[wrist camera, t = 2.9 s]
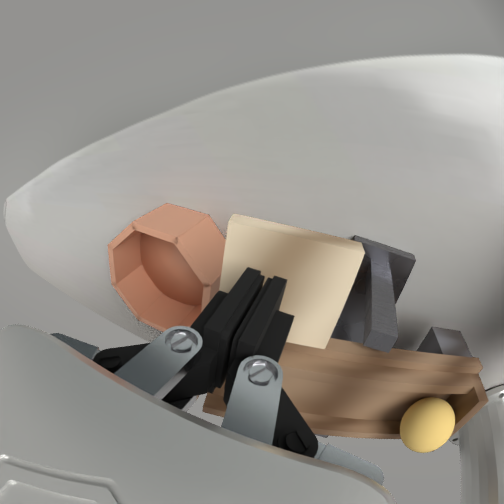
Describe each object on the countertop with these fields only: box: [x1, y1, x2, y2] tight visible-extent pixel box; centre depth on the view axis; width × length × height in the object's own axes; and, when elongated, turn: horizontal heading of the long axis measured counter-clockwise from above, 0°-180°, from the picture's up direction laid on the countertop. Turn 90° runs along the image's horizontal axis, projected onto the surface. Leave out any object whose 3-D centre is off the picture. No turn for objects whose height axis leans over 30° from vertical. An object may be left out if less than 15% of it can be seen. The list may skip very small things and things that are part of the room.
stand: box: [315, 235, 416, 438], centre depth 21 cm, size 5×14×9 cm, turn 169°
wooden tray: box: [203, 214, 489, 439], centre depth 16 cm, size 18×14×7 cm
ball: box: [400, 397, 455, 453], centre depth 15 cm, size 4×4×4 cm
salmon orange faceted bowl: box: [108, 203, 226, 332], centre depth 26 cm, size 10×10×5 cm
